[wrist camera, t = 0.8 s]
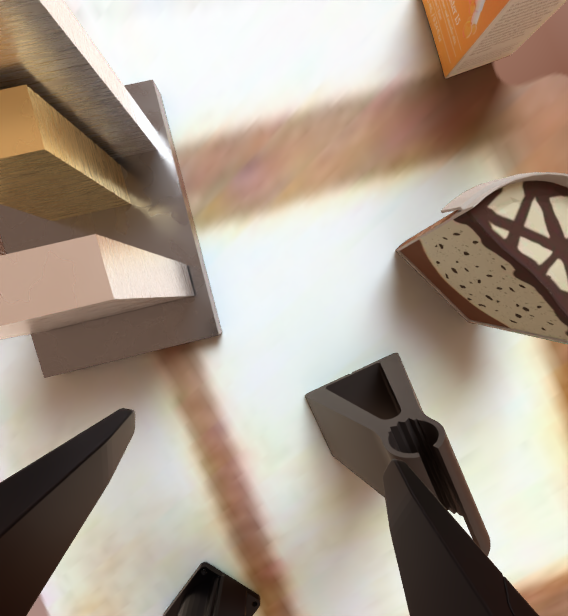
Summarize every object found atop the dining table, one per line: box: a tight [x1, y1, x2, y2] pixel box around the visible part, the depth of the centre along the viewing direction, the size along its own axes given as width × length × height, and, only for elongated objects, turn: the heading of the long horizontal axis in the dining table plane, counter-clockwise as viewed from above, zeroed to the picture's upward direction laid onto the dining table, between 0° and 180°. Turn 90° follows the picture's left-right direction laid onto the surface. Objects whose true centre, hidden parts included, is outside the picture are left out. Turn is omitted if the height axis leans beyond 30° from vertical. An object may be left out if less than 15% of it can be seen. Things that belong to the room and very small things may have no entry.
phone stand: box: [305, 353, 490, 556], centre depth 18 cm, size 9×6×12 cm, turn 114°
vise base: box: [0, 0, 222, 378], centre depth 16 cm, size 20×14×12 cm
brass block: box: [0, 85, 131, 221], centre depth 17 cm, size 3×6×8 cm, turn 103°
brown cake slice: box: [396, 172, 568, 344], centre depth 19 cm, size 12×6×10 cm, turn 47°
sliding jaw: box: [0, 234, 194, 339], centre depth 15 cm, size 2×12×11 cm, turn 104°
